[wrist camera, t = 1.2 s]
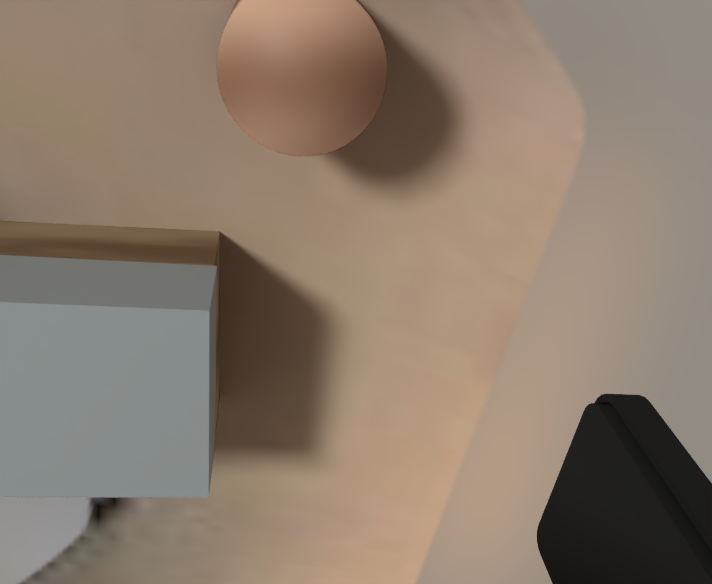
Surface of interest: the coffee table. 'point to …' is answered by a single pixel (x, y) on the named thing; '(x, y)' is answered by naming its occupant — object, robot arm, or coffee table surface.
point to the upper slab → (106, 378)
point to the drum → (301, 73)
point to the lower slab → (117, 250)
